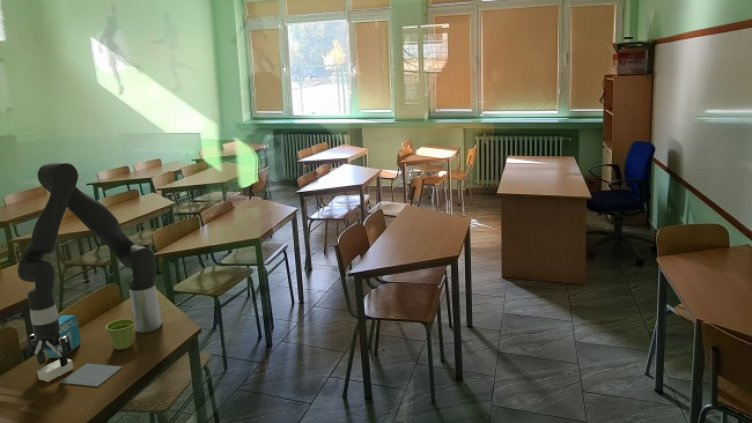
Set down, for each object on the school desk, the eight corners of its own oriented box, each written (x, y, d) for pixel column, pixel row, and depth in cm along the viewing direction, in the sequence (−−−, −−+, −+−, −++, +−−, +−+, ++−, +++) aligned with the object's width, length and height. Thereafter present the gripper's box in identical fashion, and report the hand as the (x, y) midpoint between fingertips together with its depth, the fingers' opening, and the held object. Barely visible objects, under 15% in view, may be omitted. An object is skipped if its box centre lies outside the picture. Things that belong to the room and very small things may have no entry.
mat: (86, 364, 190) (86, 363, 190) (122, 367, 187) (122, 366, 187) (60, 383, 179) (60, 382, 179) (97, 387, 176) (97, 386, 176)
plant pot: (122, 338, 208) (119, 317, 206) (143, 341, 205) (139, 320, 203) (103, 350, 200) (99, 328, 198) (124, 353, 197) (120, 331, 195)
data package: (58, 360, 194) (52, 328, 191) (47, 359, 195) (40, 328, 192) (81, 343, 206) (76, 314, 203) (70, 343, 206) (65, 313, 203)
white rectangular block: (64, 366, 190) (62, 357, 189) (73, 369, 188) (71, 360, 187) (39, 379, 182) (36, 370, 181) (48, 382, 180) (46, 373, 179)
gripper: (72, 315, 182) (79, 360, 186) (35, 313, 185) (44, 357, 189) (54, 325, 175) (62, 372, 179) (17, 322, 178) (26, 368, 182)
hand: (53, 364), depth 184 cm, fingers open, 8 cm apart
